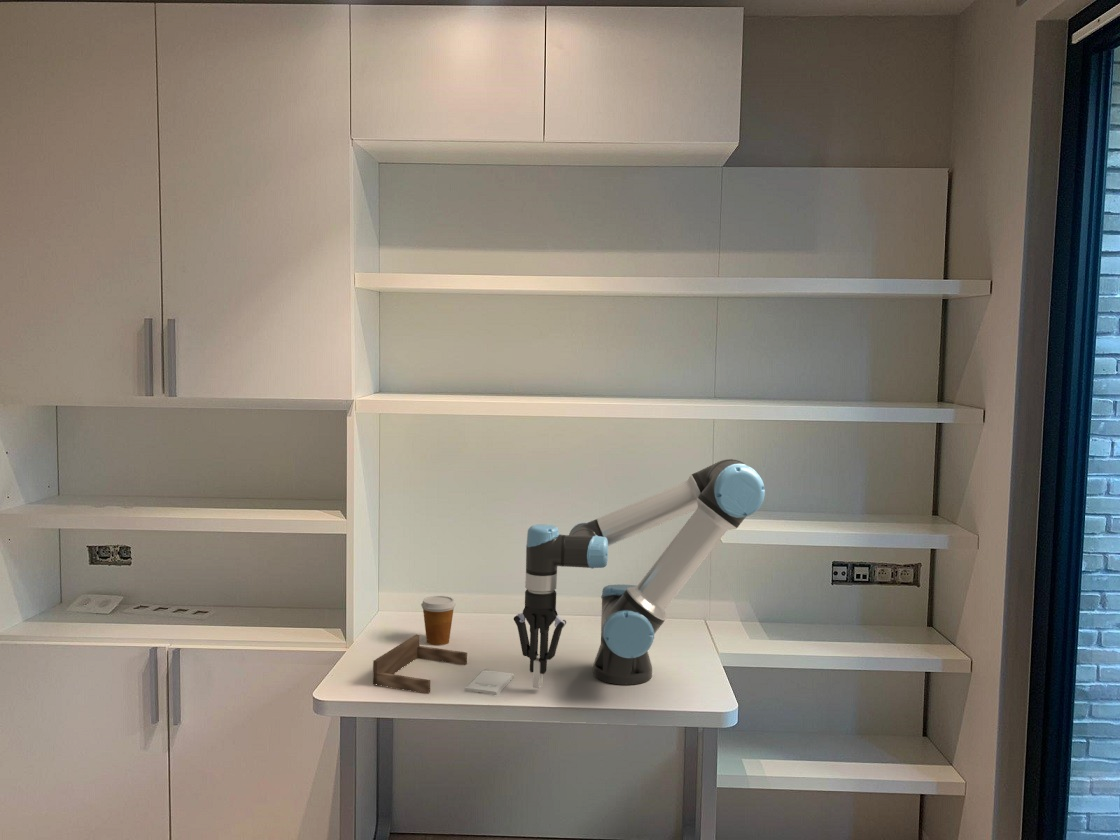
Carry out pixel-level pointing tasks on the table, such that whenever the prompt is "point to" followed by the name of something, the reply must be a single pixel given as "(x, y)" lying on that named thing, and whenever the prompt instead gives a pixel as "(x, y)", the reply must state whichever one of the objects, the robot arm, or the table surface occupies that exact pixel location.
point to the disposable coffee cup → (438, 618)
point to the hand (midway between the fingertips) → (537, 685)
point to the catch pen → (403, 656)
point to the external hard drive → (489, 682)
